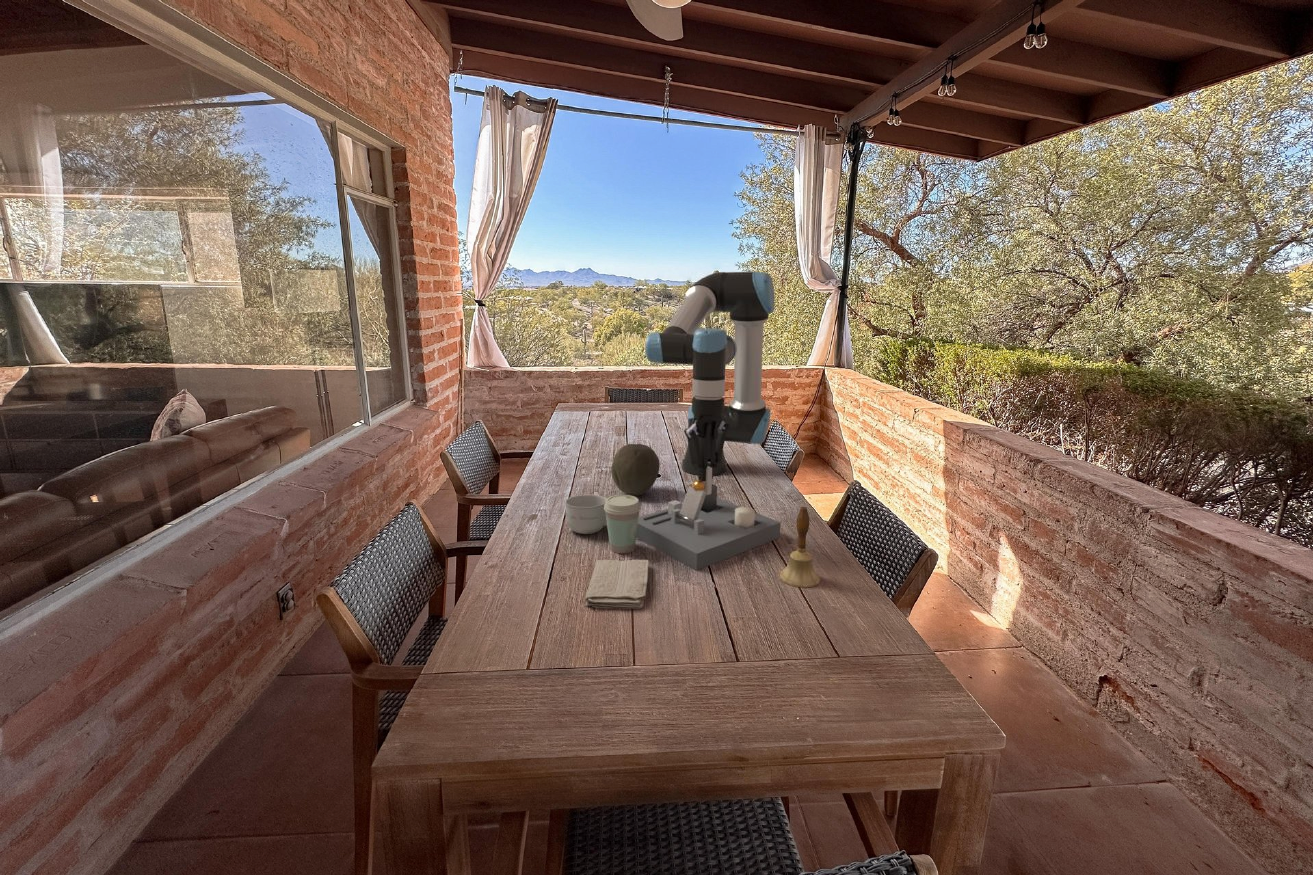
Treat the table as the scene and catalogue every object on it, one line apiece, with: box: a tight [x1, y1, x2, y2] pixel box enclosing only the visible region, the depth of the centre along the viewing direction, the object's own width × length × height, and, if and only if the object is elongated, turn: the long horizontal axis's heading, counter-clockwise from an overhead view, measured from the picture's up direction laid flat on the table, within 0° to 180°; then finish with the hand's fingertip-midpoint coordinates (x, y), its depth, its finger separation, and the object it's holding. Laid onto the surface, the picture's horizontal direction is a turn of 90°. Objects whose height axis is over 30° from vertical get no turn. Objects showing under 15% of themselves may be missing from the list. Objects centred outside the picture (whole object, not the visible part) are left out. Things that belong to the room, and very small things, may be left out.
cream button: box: [734, 506, 756, 529], centre depth 142 cm, size 5×5×6 cm
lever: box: [677, 479, 706, 525], centre depth 138 cm, size 3×6×10 cm, turn 40°
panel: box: [636, 497, 782, 571], centre depth 142 cm, size 28×24×7 cm
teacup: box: [564, 494, 608, 535], centre depth 145 cm, size 14×11×8 cm
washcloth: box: [584, 559, 650, 610], centre depth 119 cm, size 12×18×3 cm, turn 179°
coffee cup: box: [604, 494, 642, 554], centre depth 135 cm, size 8×8×12 cm
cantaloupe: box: [611, 443, 661, 497], centre depth 171 cm, size 14×14×15 cm
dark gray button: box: [701, 484, 718, 511], centre depth 151 cm, size 5×5×6 cm
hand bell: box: [779, 506, 821, 589], centre depth 121 cm, size 8×8×16 cm
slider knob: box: [667, 500, 683, 515], centre depth 146 cm, size 2×2×3 cm
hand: (705, 492), depth 140 cm, fingers closed
